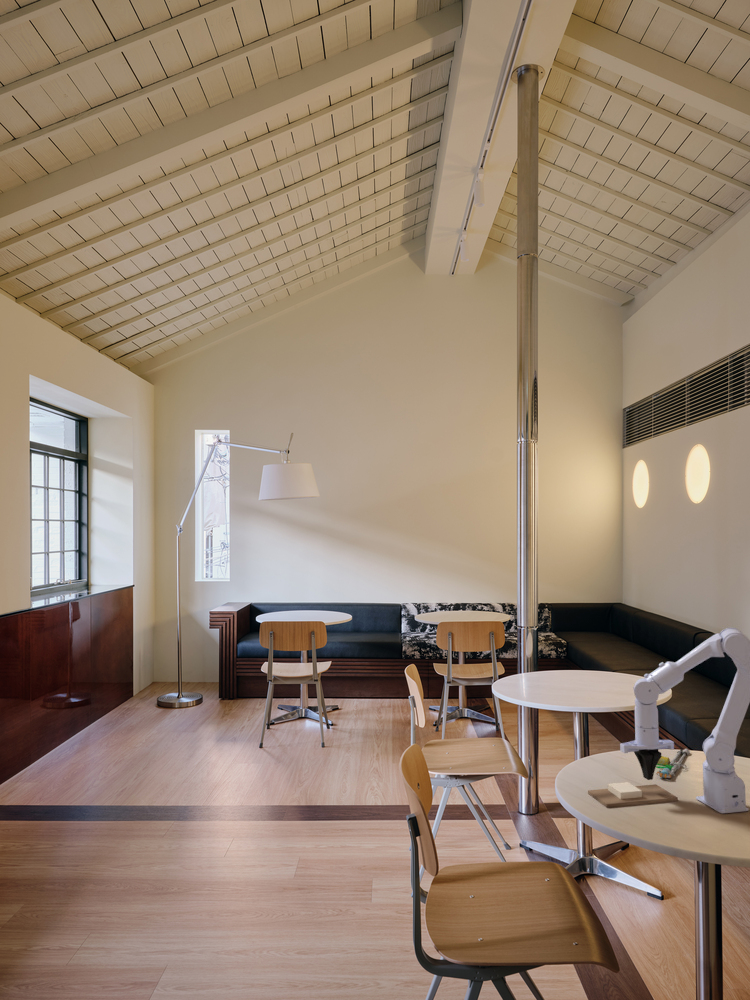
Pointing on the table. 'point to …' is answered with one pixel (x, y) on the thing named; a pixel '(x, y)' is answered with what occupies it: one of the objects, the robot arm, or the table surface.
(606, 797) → the board
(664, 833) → the table surface
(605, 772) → the table surface
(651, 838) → the table surface
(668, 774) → the flamethrower
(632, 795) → the tile
